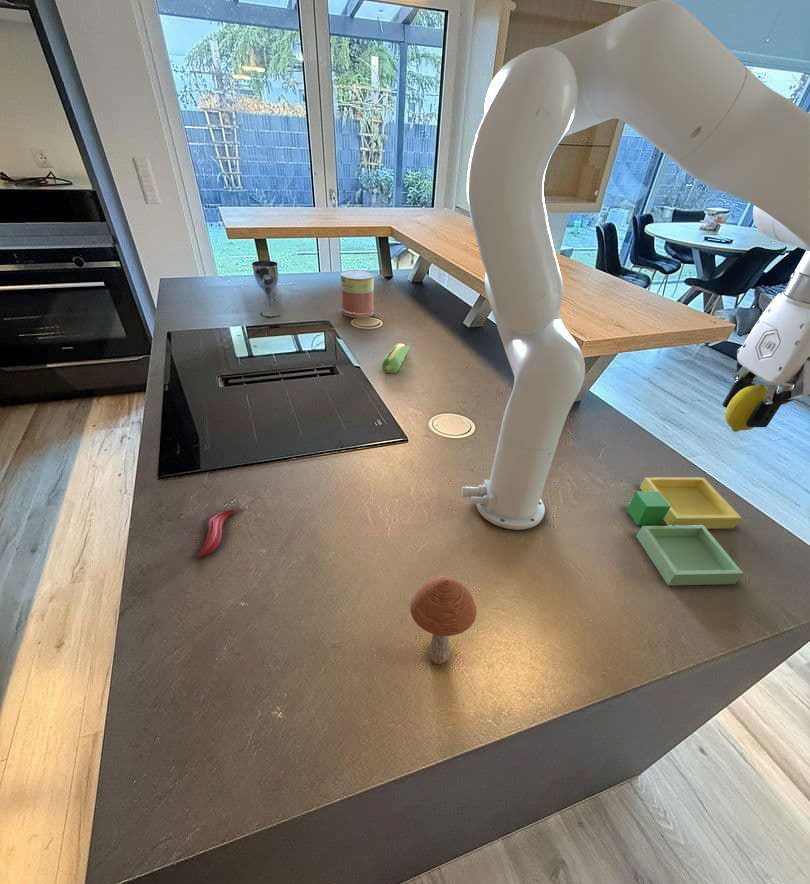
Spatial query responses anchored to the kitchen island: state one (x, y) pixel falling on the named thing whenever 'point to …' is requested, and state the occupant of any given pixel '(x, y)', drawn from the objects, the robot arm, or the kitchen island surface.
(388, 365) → the edible corn
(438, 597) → the mushroom
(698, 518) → the yellow tray
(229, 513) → the cayenne pepper
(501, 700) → the kitchen island surface
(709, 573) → the green tray
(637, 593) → the kitchen island surface
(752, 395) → the lemon
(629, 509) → the green cube
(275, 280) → the wine glass
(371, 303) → the canned food
